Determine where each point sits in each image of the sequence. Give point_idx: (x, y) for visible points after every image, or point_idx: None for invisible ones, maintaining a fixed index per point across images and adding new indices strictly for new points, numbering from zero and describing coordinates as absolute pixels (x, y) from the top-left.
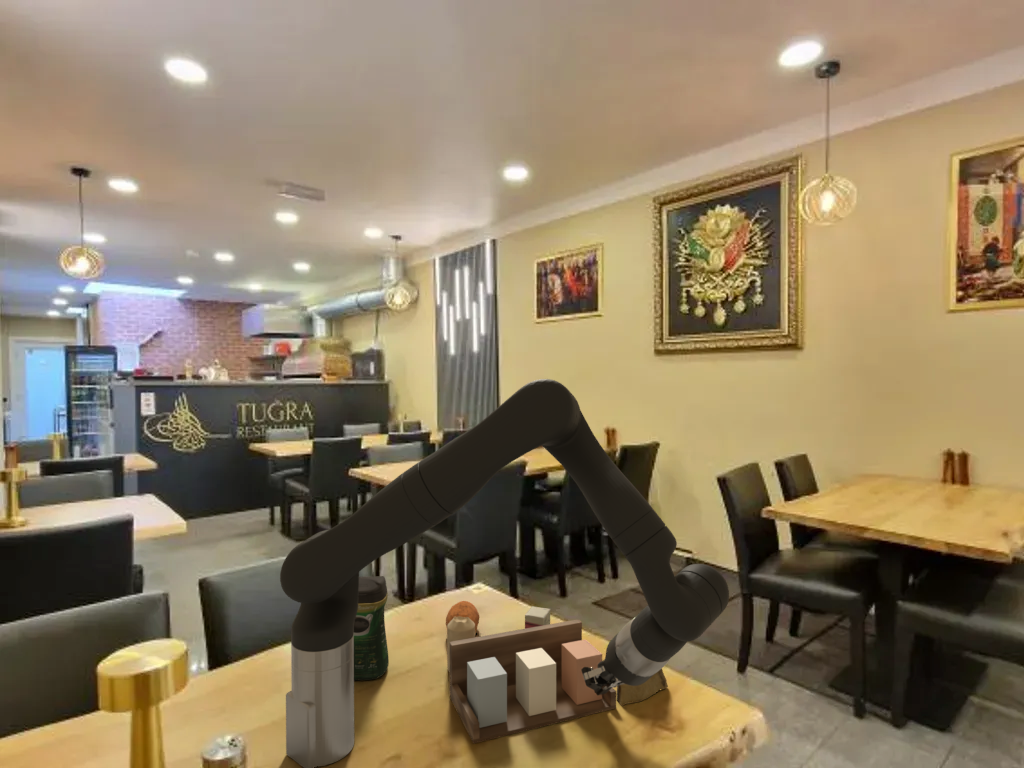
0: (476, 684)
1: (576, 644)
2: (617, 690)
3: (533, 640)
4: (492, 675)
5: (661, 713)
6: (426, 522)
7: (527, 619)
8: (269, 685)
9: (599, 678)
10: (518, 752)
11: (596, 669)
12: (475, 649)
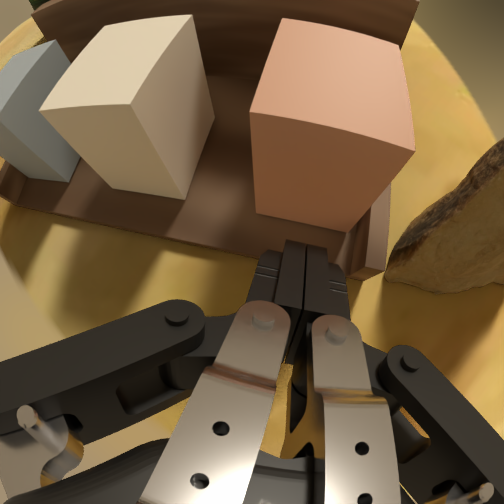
0: None
1: (339, 41)
2: (409, 232)
3: None
4: None
5: (442, 365)
6: None
7: None
8: (20, 38)
9: (199, 370)
10: (38, 276)
11: (9, 493)
12: (73, 12)
